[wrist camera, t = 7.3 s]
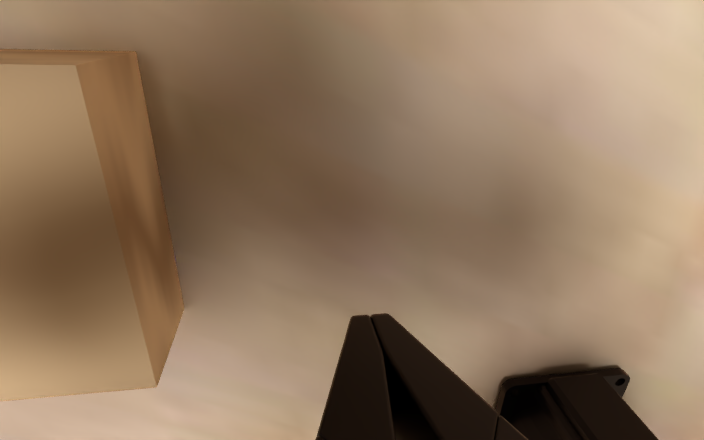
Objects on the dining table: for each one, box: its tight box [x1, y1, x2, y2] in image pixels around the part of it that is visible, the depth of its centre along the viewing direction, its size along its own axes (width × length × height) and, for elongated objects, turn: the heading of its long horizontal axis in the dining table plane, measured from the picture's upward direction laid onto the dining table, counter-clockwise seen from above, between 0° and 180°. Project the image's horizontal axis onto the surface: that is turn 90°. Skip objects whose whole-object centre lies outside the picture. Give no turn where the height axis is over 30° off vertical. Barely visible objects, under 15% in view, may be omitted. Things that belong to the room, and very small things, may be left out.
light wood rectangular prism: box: [0, 49, 184, 401], centre depth 12 cm, size 9×6×4 cm, turn 178°
